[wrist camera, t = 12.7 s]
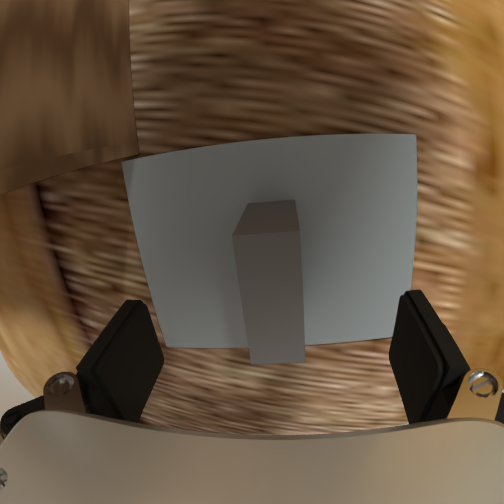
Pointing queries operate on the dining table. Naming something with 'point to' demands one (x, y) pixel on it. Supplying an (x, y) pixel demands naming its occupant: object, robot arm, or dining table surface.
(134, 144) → the crate
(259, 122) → the dining table surface
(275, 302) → the lid
